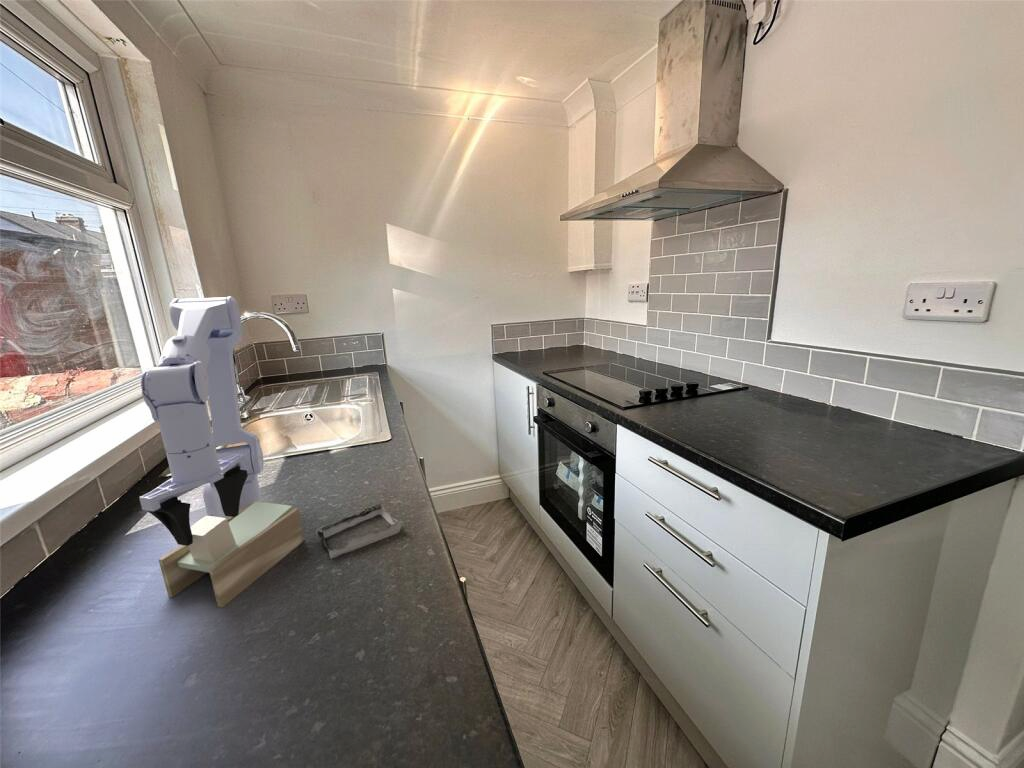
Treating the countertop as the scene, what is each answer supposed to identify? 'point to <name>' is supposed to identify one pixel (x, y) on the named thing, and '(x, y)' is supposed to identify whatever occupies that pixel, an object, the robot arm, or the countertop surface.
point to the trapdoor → (242, 530)
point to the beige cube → (211, 538)
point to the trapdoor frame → (237, 560)
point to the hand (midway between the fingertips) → (209, 528)
